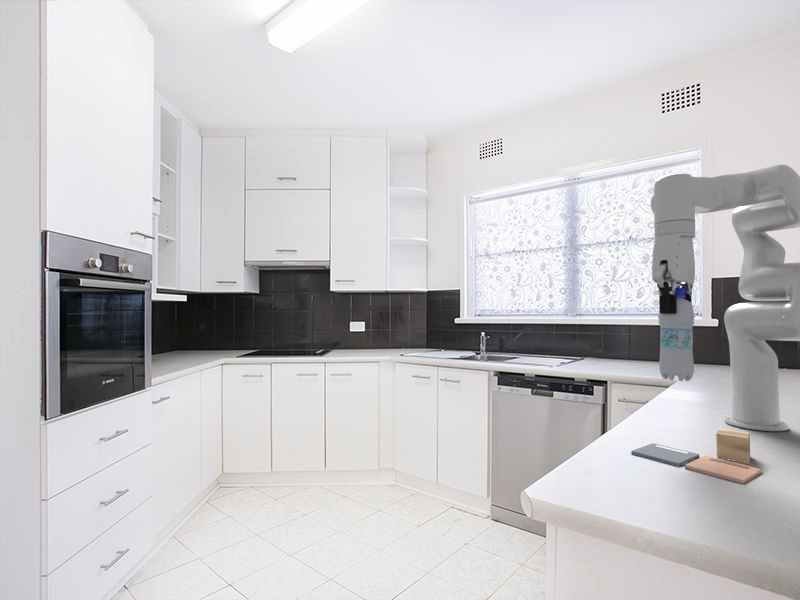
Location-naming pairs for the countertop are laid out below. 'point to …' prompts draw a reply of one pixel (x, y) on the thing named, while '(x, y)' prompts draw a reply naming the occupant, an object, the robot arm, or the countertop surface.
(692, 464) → the terracotta tile
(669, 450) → the slate mat
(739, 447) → the oak block
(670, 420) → the countertop surface
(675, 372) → the bottle
